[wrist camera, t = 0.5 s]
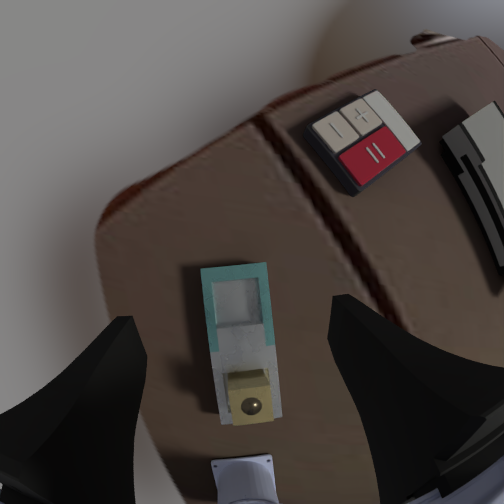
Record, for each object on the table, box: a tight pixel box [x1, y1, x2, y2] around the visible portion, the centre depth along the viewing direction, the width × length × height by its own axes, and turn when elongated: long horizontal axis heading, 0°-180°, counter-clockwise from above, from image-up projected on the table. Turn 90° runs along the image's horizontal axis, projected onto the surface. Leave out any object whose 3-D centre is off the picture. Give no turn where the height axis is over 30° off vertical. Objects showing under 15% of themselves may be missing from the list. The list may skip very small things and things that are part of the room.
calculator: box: [303, 89, 421, 197], centre depth 36 cm, size 11×4×15 cm
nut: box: [227, 369, 274, 426], centre depth 27 cm, size 4×4×6 cm
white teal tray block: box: [201, 262, 282, 425], centre depth 31 cm, size 18×7×3 cm, turn 6°
